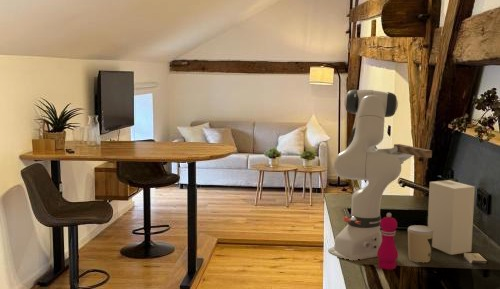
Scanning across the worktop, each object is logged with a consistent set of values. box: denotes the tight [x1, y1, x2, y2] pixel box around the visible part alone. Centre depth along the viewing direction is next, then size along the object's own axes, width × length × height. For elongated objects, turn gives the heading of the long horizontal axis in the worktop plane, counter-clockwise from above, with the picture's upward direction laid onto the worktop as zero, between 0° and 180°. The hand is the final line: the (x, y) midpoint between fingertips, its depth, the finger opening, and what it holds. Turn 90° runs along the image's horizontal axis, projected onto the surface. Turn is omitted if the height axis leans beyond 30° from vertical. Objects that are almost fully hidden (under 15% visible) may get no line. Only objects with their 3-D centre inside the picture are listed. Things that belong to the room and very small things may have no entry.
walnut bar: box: [393, 143, 433, 159], centre depth 240 cm, size 22×3×3 cm, turn 22°
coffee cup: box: [407, 224, 434, 264], centre depth 207 cm, size 9×9×12 cm
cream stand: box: [427, 179, 476, 256], centre depth 219 cm, size 14×10×26 cm
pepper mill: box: [377, 212, 399, 270], centre depth 198 cm, size 7×7×20 cm
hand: (401, 147), depth 247 cm, fingers closed on walnut bar, 3 cm apart
